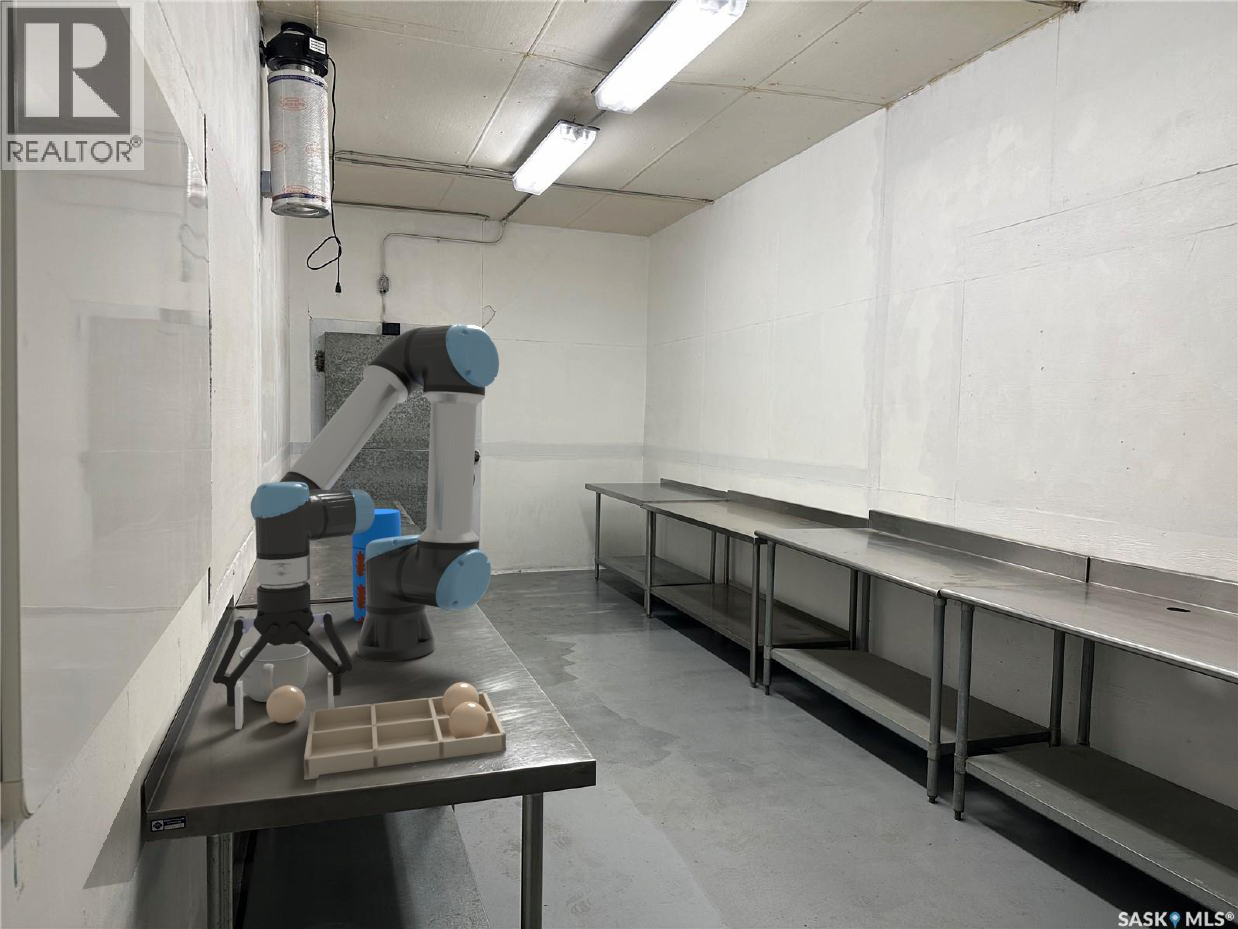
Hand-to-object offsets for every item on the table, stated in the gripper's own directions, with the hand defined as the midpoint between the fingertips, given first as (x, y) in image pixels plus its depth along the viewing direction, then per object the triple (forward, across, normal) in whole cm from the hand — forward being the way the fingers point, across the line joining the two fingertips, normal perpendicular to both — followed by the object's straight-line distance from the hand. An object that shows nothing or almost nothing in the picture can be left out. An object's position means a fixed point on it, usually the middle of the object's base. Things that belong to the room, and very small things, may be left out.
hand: (286, 721), depth 120 cm
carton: (0, +17, -12) cm, 21 cm away
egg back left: (0, +26, -8) cm, 27 cm away
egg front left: (0, +26, -17) cm, 31 cm away
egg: (0, 0, 0) cm, 0 cm away
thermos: (0, +15, +61) cm, 63 cm away
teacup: (0, -3, +11) cm, 11 cm away
